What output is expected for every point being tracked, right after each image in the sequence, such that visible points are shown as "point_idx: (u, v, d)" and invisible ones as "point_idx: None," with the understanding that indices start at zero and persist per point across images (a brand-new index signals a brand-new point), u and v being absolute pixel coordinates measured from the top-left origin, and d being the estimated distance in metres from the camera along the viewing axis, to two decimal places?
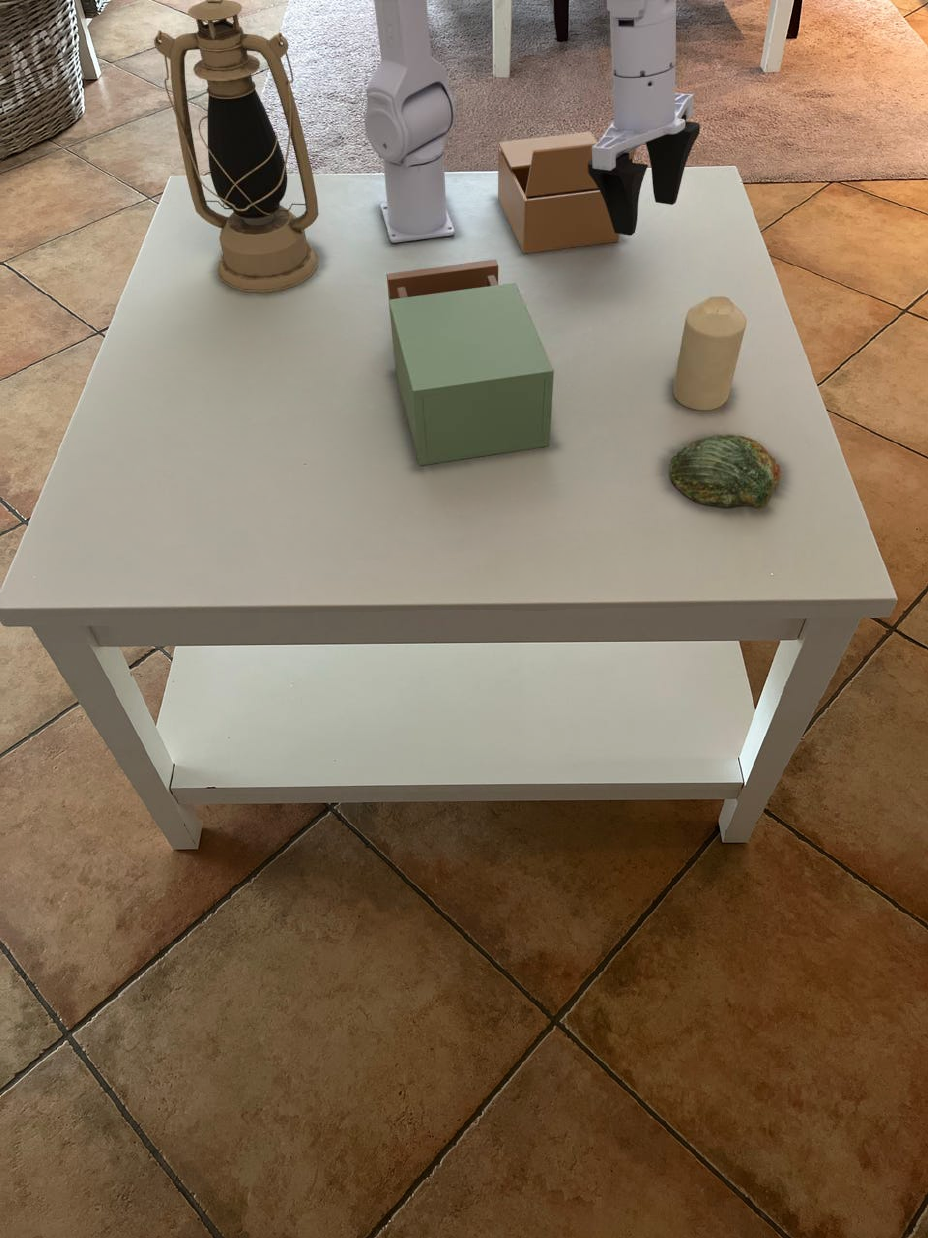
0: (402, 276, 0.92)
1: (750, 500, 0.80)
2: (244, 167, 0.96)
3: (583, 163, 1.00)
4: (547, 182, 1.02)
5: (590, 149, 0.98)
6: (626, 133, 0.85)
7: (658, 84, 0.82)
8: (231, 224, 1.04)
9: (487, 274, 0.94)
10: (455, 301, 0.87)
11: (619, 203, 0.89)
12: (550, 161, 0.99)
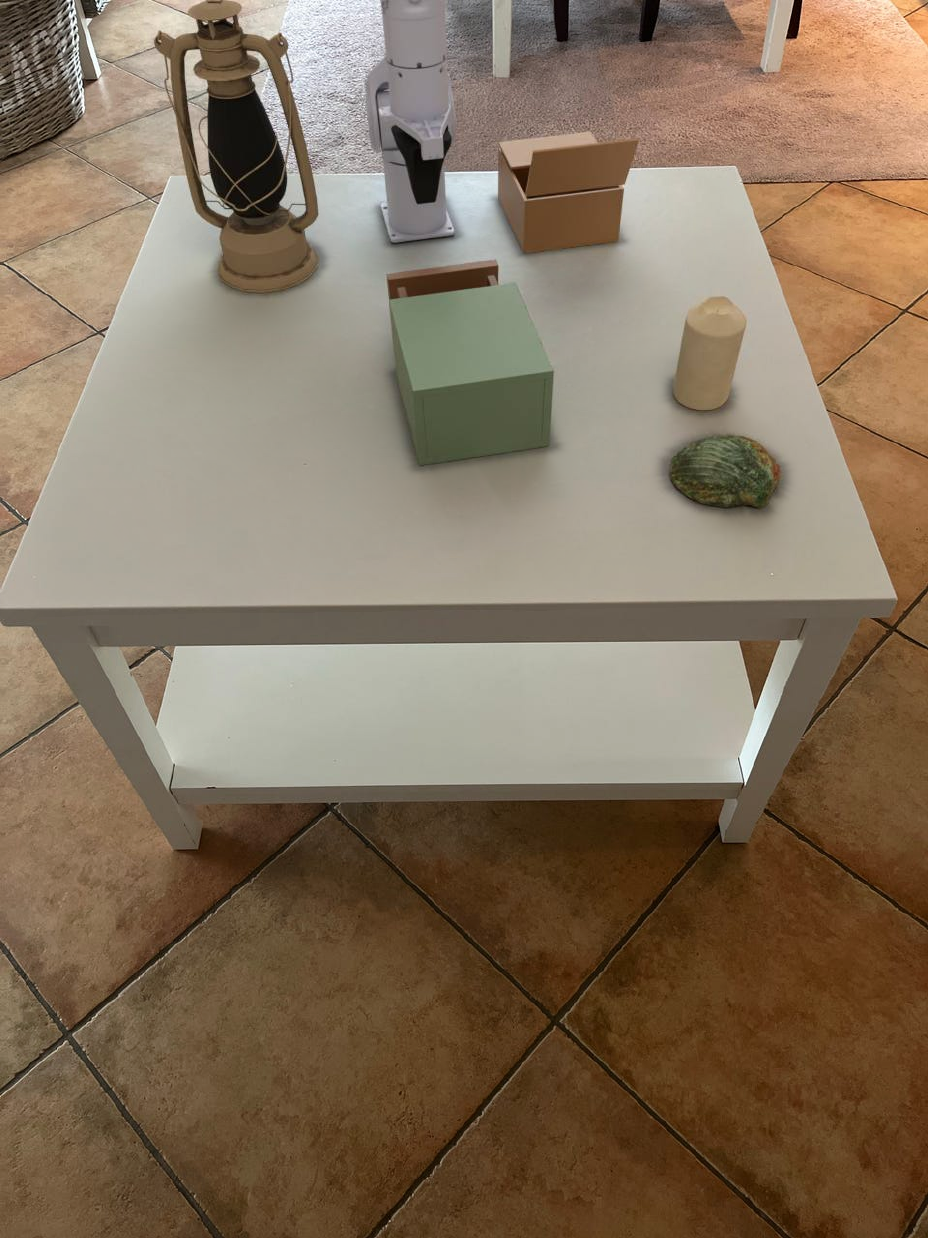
0: (402, 276, 0.92)
1: (750, 500, 0.80)
2: (244, 167, 0.96)
3: (583, 163, 1.00)
4: (547, 182, 1.02)
5: (590, 149, 0.98)
6: None
7: None
8: (231, 224, 1.04)
9: (487, 274, 0.94)
10: (455, 301, 0.87)
11: None
12: (550, 161, 0.99)
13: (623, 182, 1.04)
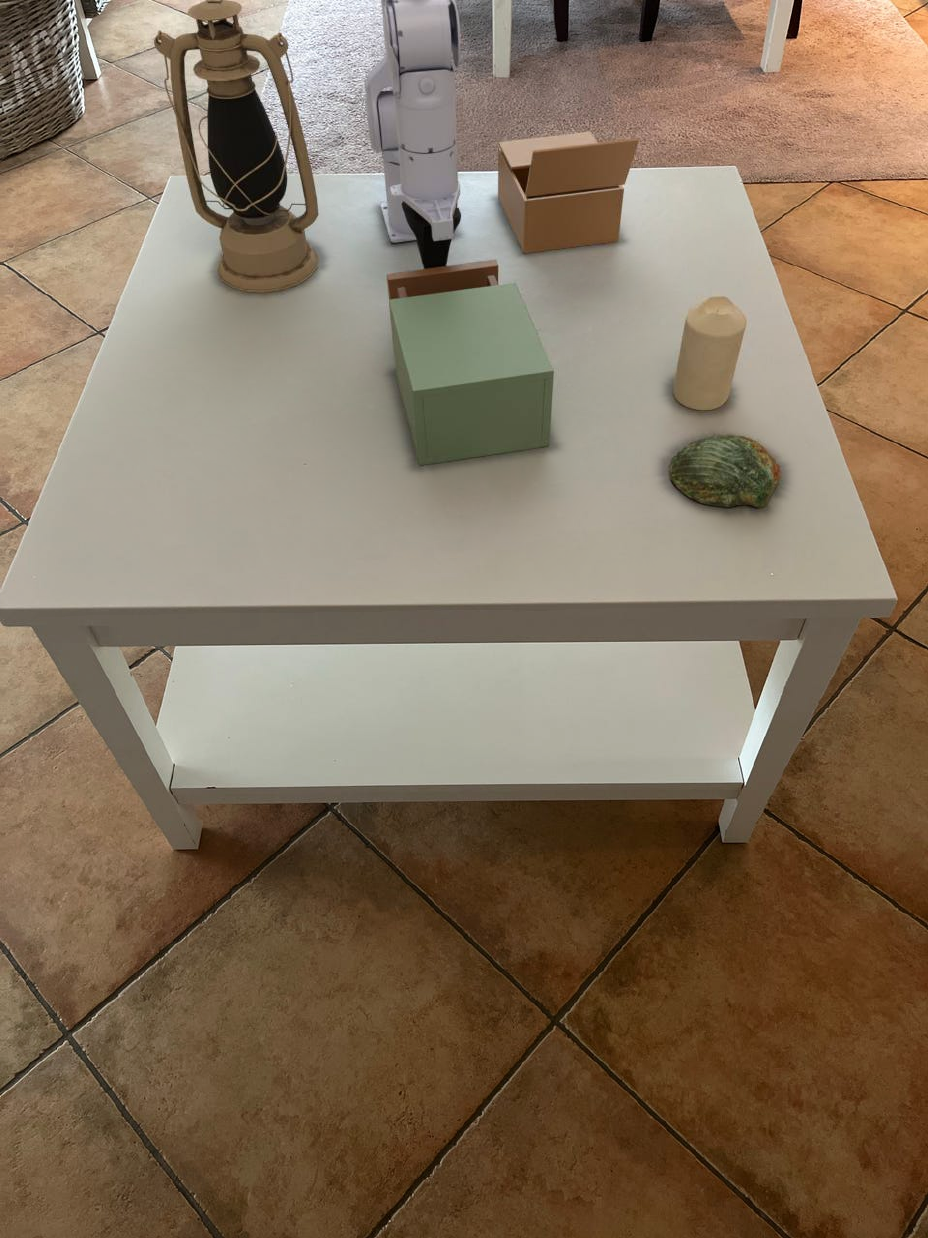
0: (402, 276, 0.92)
1: (750, 500, 0.80)
2: (244, 167, 0.96)
3: (583, 163, 1.00)
4: (547, 182, 1.02)
5: (590, 149, 0.98)
6: None
7: None
8: (231, 224, 1.04)
9: (487, 274, 0.94)
10: (455, 301, 0.87)
11: None
12: (550, 161, 0.99)
13: (623, 182, 1.04)
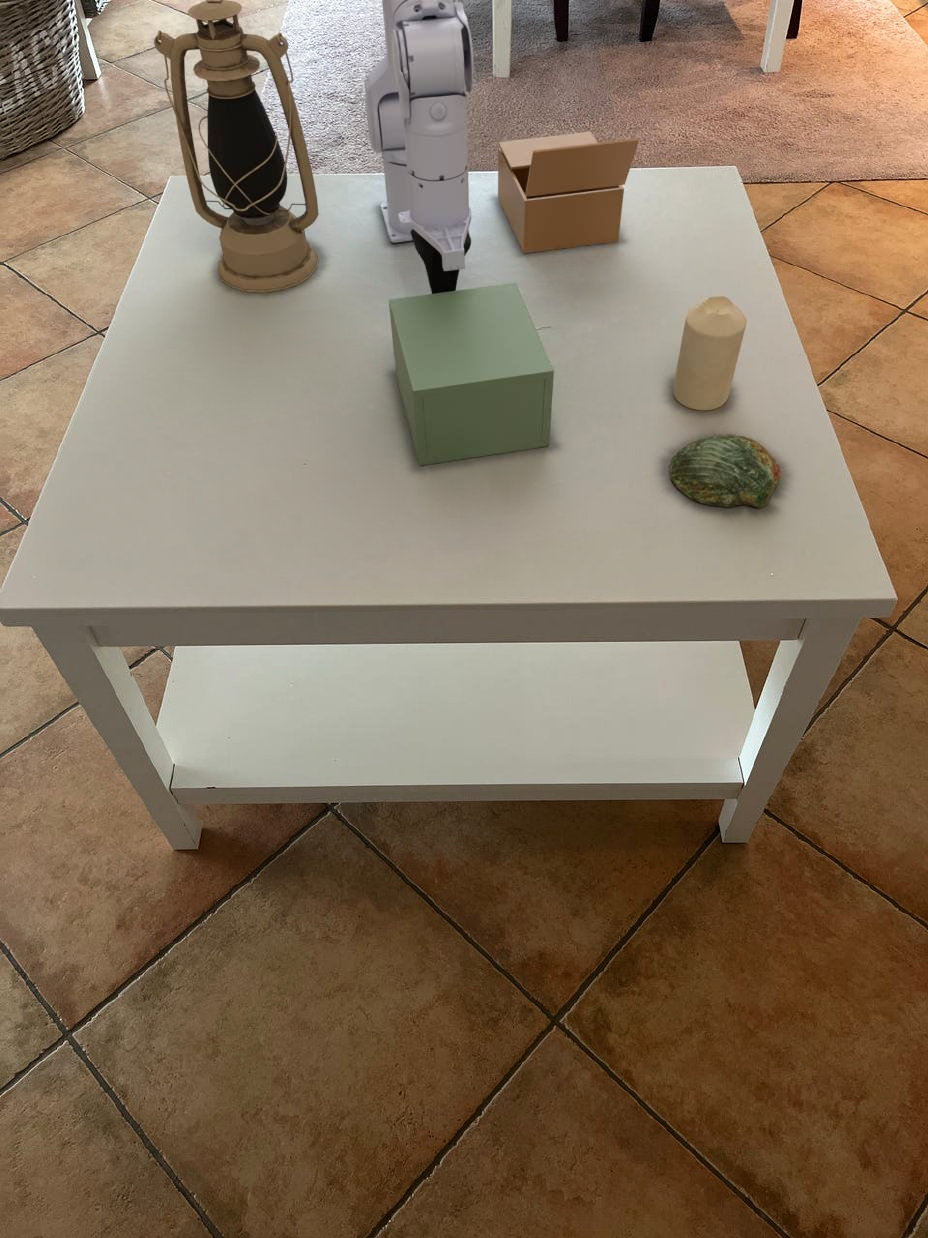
0: None
1: (750, 500, 0.80)
2: (244, 167, 0.96)
3: (583, 163, 1.00)
4: (547, 182, 1.02)
5: (590, 149, 0.98)
6: None
7: None
8: (231, 224, 1.04)
9: None
10: (455, 301, 0.87)
11: None
12: (550, 161, 0.99)
13: (623, 182, 1.04)
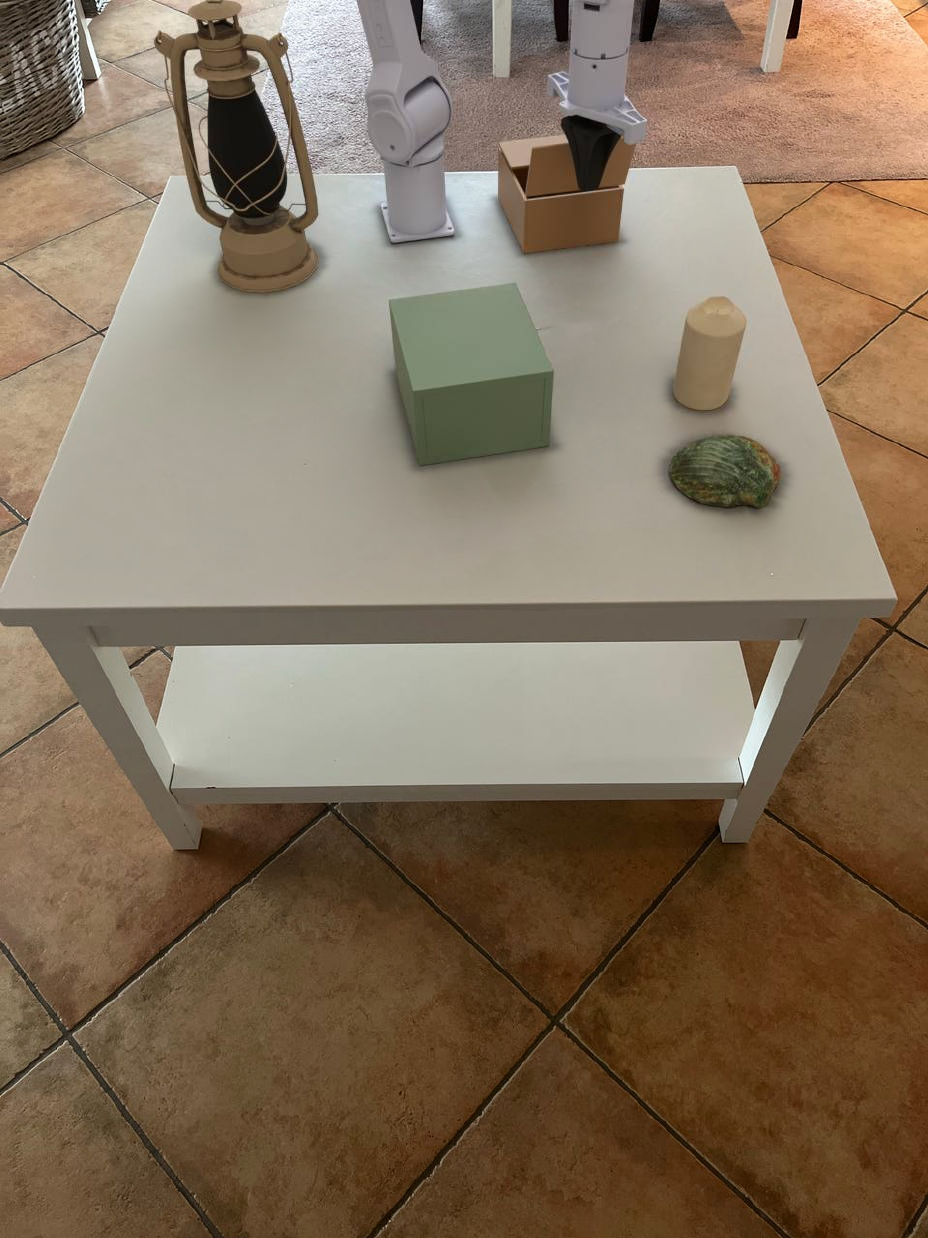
0: None
1: (750, 500, 0.80)
2: (244, 167, 0.96)
3: None
4: (547, 180, 1.02)
5: None
6: None
7: None
8: (231, 224, 1.04)
9: None
10: (455, 301, 0.87)
11: None
12: (550, 158, 0.99)
13: (623, 182, 1.04)
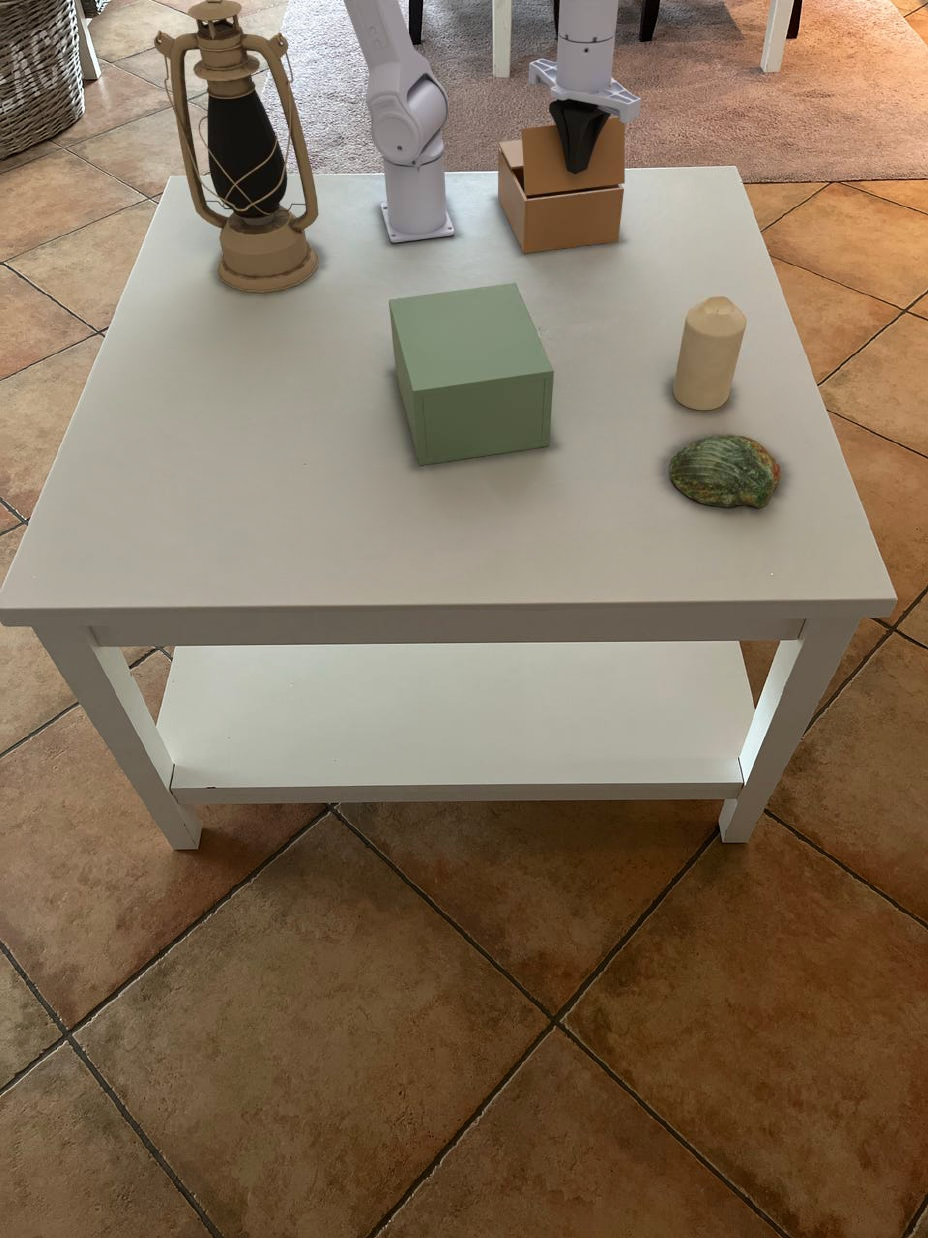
0: None
1: (750, 500, 0.80)
2: (244, 167, 0.96)
3: None
4: (544, 173, 1.03)
5: None
6: None
7: (558, 44, 0.92)
8: (231, 224, 1.04)
9: None
10: (455, 301, 0.87)
11: None
12: (541, 143, 1.01)
13: (622, 179, 1.04)
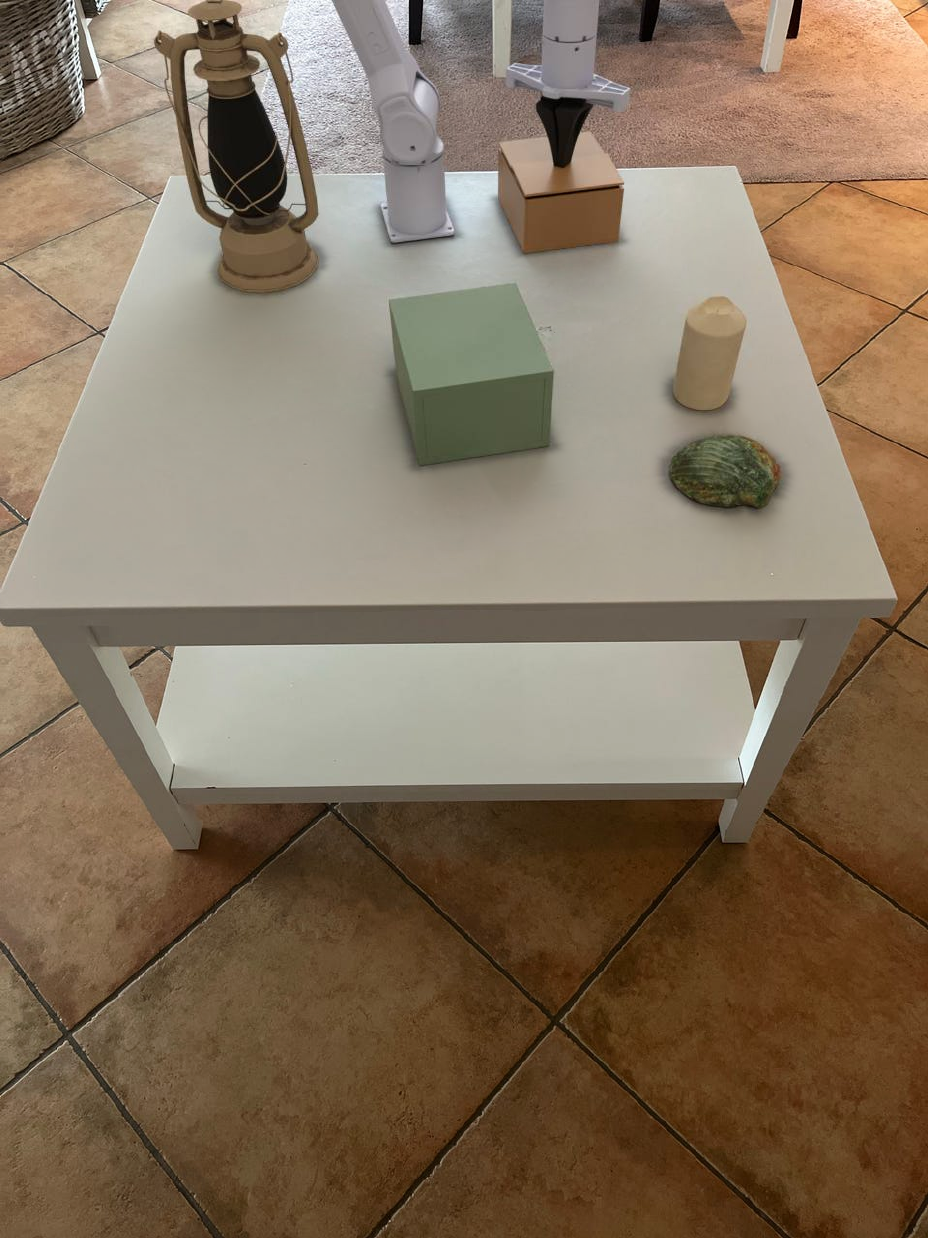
0: None
1: (750, 500, 0.80)
2: (244, 167, 0.96)
3: (566, 169, 1.06)
4: (540, 183, 1.05)
5: None
6: (540, 73, 1.01)
7: (546, 47, 0.97)
8: (231, 224, 1.04)
9: None
10: (455, 301, 0.87)
11: None
12: (532, 169, 1.07)
13: (621, 180, 1.05)
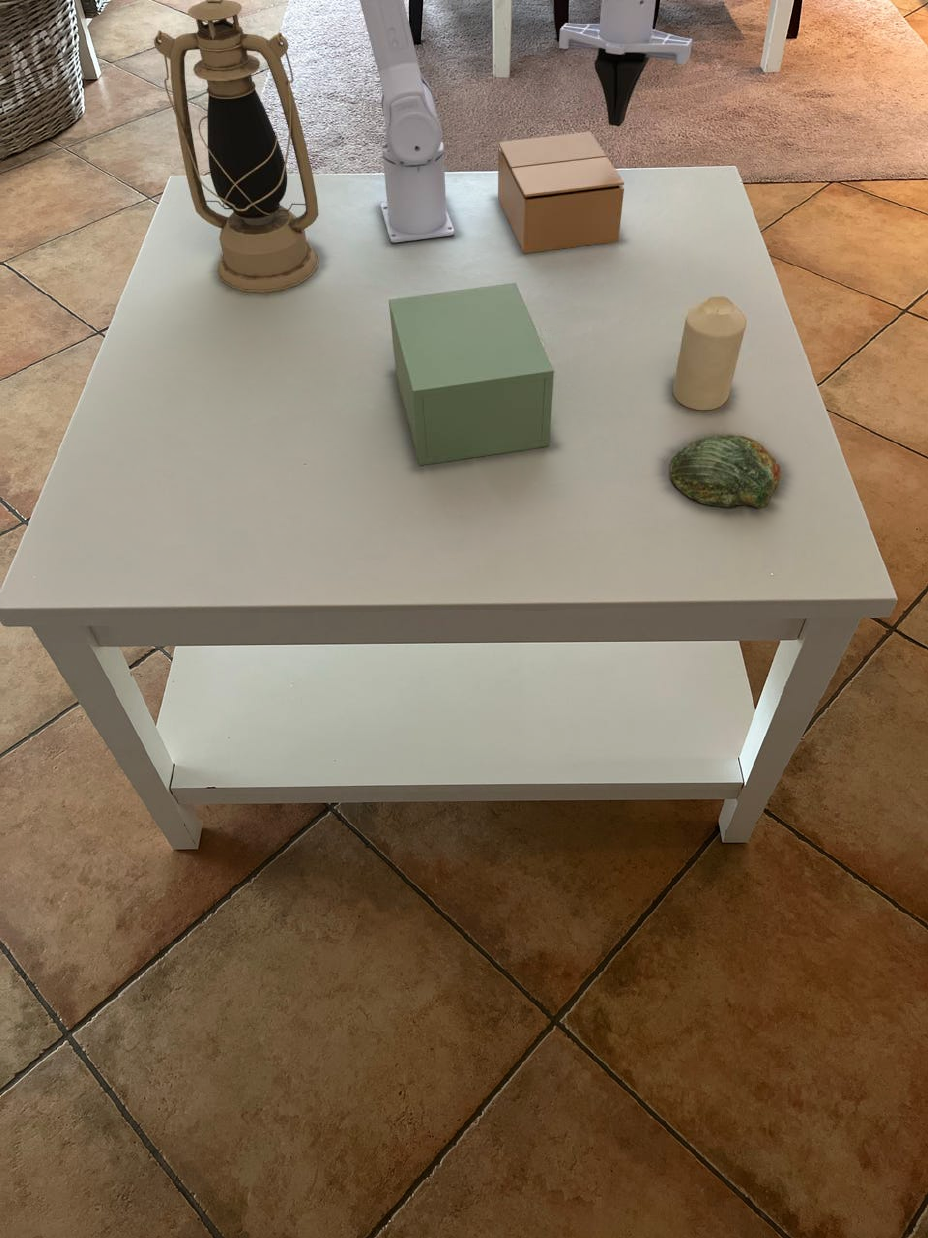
0: None
1: (750, 500, 0.80)
2: (244, 167, 0.96)
3: (566, 171, 1.07)
4: (540, 184, 1.05)
5: (564, 163, 1.08)
6: (596, 31, 1.01)
7: (609, 2, 0.96)
8: (231, 224, 1.04)
9: None
10: (455, 301, 0.87)
11: None
12: (532, 172, 1.07)
13: (621, 180, 1.05)
